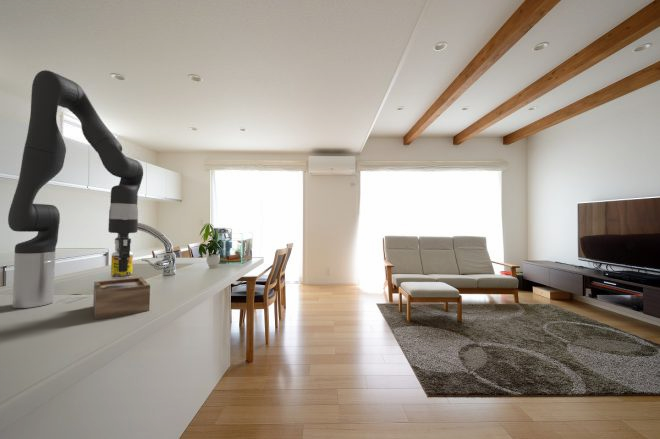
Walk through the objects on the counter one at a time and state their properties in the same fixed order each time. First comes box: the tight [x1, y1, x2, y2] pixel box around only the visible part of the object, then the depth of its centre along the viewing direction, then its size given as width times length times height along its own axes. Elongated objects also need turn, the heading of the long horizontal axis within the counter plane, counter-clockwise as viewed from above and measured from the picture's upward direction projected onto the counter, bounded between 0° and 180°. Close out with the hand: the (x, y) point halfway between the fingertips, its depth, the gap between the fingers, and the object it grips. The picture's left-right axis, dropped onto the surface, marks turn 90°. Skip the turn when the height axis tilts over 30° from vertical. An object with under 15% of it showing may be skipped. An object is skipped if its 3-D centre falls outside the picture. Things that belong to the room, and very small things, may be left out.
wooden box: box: [92, 277, 151, 320], centre depth 88 cm, size 16×13×8 cm
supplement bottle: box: [110, 246, 134, 280], centre depth 89 cm, size 6×6×10 cm
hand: (121, 270), depth 88 cm, fingers closed on supplement bottle, 5 cm apart
